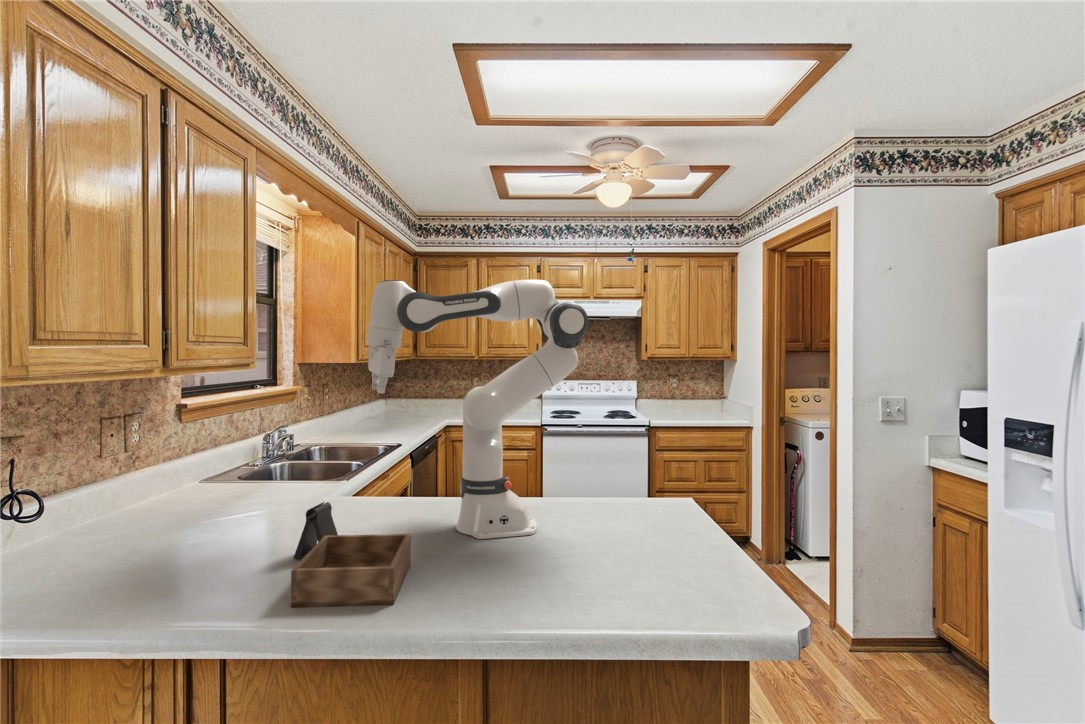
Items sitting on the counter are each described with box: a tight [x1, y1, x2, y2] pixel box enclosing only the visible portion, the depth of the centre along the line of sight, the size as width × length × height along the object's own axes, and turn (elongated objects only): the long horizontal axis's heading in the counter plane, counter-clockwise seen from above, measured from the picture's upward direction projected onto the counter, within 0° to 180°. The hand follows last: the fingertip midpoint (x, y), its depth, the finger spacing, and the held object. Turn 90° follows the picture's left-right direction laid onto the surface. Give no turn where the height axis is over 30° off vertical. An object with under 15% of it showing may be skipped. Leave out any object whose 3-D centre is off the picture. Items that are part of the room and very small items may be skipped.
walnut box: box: [290, 533, 412, 608], centre depth 108 cm, size 19×19×7 cm
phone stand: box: [293, 501, 339, 561], centre depth 122 cm, size 9×6×12 cm, turn 81°
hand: (377, 391), depth 138 cm, fingers open, 8 cm apart
